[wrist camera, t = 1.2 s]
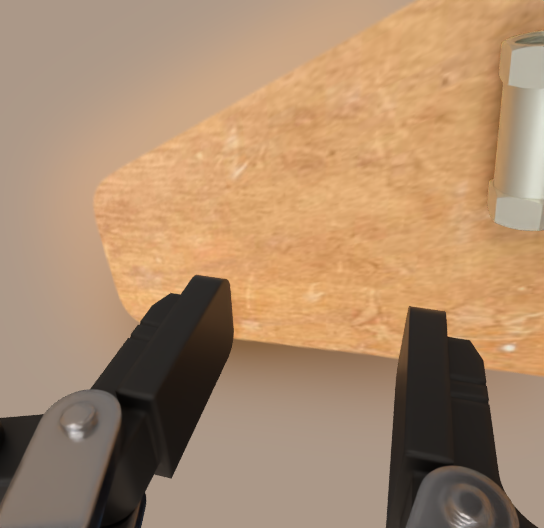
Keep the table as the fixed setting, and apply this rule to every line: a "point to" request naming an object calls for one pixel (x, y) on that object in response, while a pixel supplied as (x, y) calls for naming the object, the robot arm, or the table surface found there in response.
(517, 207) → the pipe fitting
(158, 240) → the table surface
